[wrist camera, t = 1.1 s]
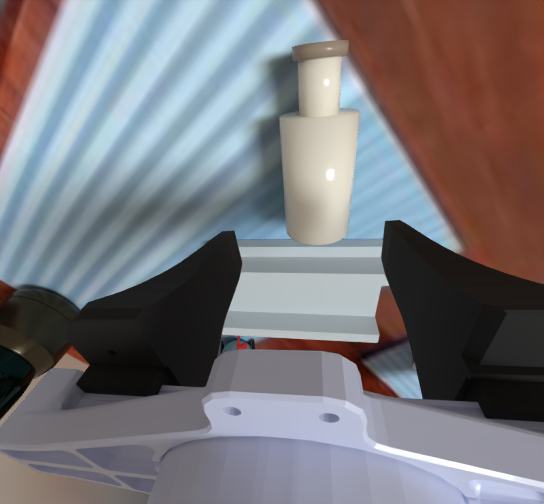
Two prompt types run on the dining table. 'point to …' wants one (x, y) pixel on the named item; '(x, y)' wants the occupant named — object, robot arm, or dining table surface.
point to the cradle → (308, 290)
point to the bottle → (319, 148)
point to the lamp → (30, 339)
